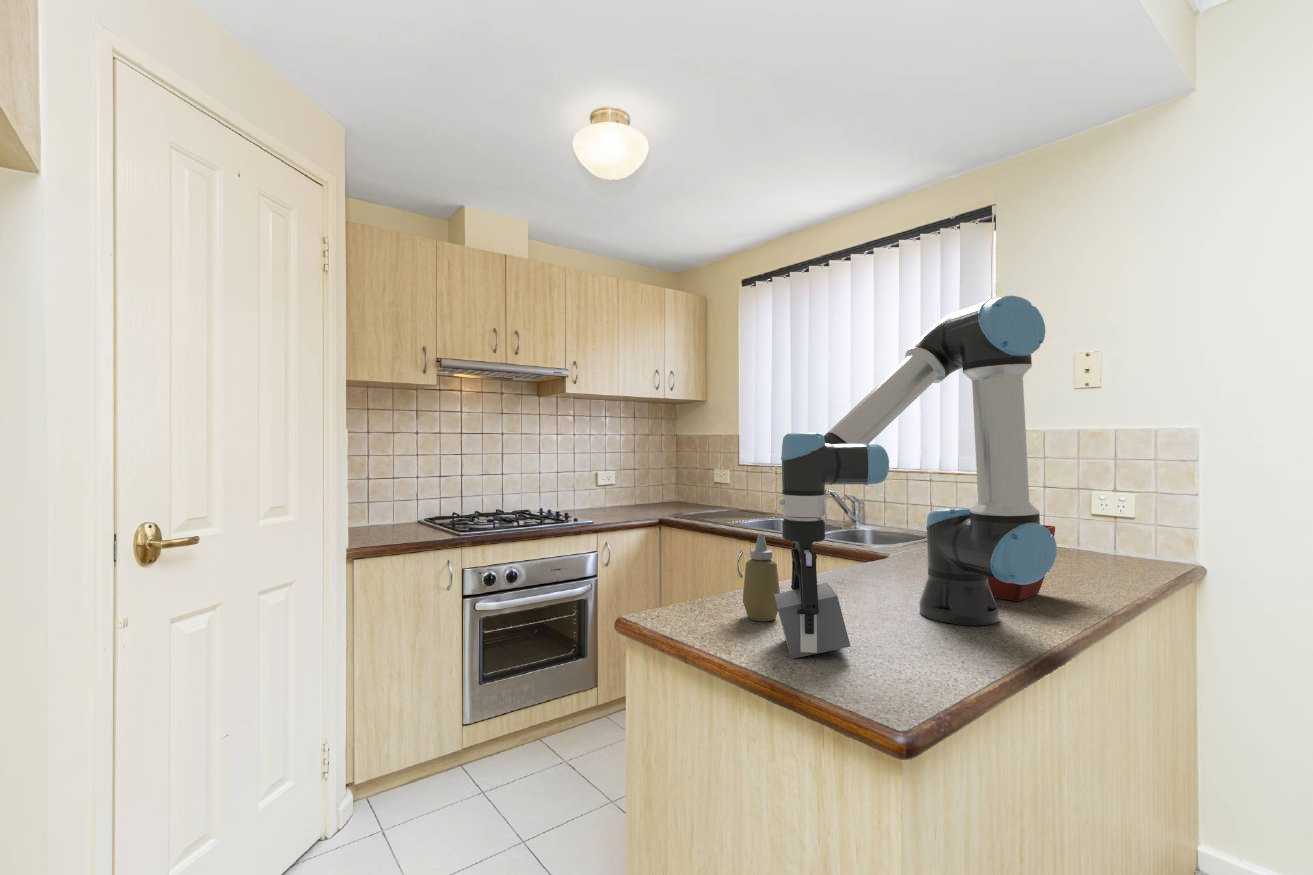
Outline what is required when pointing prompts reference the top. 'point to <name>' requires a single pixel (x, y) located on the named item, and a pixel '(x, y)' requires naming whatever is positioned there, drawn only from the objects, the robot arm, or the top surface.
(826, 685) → the top surface
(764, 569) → the squeeze bottle
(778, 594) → the grey cubic block
